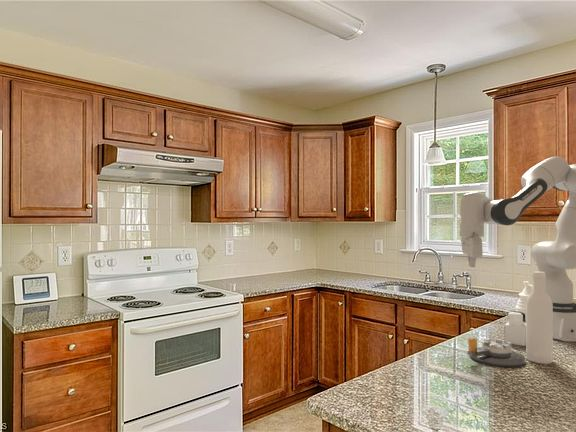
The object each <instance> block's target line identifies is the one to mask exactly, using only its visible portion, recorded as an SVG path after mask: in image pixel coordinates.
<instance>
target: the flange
mask: <svg viewBox="0 0 576 432" xmlns="http://www.w3.org/2000/svg"><path fill="white" fill-rule="evenodd" d="M479 349H482V346H481V347H477V350H479ZM469 358H470V359H471V360H473V361H475V362H477V363H480V364H483V365H487V366H491V367H500V368H518V367H522V366H524V365H525V364H526V358H525V356H524V355H523V354H522V353H519V352H516V351H513V350H511V357H508V358H498V357H491V356H488V355H485V354H481V355H475V356H471V355H469Z"/></svg>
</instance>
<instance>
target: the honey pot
mask: <svg viewBox="0 0 576 432" xmlns="http://www.w3.org/2000/svg"><path fill="white" fill-rule="evenodd" d="M522 284H523V285H524V288H523V289H522V292H520V293H517V294H518V296H519V298H518V299H517V303H516V305H515V311H518V312H522V313H524V314H525V322H526V301H527V298H528V296H529V295H530V294H531V293H533V284H530V282H529V281H527V280H526V281H522Z"/></svg>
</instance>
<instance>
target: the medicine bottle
mask: <svg viewBox="0 0 576 432" xmlns="http://www.w3.org/2000/svg"><path fill="white" fill-rule="evenodd" d="M503 331H504V333H503V334H504V338H503V339H504V342H503V343H506V342H510V343H511V345H514V346H520V347H526V321H525V314H524V313H522V312H518V311H516V310H511V311H508V312H507V323H505V324H504V329H503Z"/></svg>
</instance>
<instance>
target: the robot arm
mask: <svg viewBox="0 0 576 432" xmlns="http://www.w3.org/2000/svg"><path fill="white" fill-rule="evenodd" d="M520 183H521V186H522V189H521V190H520V191H519V192H517V193H516V194H515V195H514V196H512V197H510V198H503V199H495V200H494V199H492V198H490V197H488V196H486V195H485V194H484V193H483V192H481V191H473V192H469V193H468V192H467V193H464V194H463V195H462V196H461V198H460V205H459V216H460V223H459V237H460V238H461V239H460V240H461V241H460V242H461V251H462V254H464V255H465V256H467V260H468V267H470V268H475V267H476V262H477V258H483V253H484V251H483V240H482V238H484V236H485V224H487V225H502V226H512V225H514V224H516V223H517V222H518V221H519V220H520V218H521V217H522V215H523V213H524V212H525V211H526V210H527V208H529V207H530V206H531V205H533V204H534V203H535V202H537V200H538V199H540V198H541V197H542V196H543V195H544V194H545V193H546V192H547V191H549V190H551V189H554V190H556V191H561V192H564V191H566V192H568V199H567V200H566V202H565V203H564V205H563V206H562V207H563V208H561V212H560V213H559V216H558V217H557V220H556V221H555V223H554V226H555V228H556V230H557V231H556V238H555V240H543V241H540V242H536V243H535V244H534V245H533V246H532V247H531V249H530V256H531V258H532V260H533V261H534V262H535V264H536V266H537V270H538V272H545V276H546V278H545V293H546V294H547V295H548V296H549V297H550V298H551V301H552V303H553V340H554V339H555V340H559V341H563V342H576V302H574V283H573V281H572V280H571V278H570V277H569V276H568V272H567V271H568V270H576V163H573V164H569V163H568V161H567V160H566V159H565V158H563V157H561V156H557V155H556V156H550V157H548V158H546V159H544V160H542V161H540V162H538V163H537V164H535V165H534V166H532V167H531V168H529V169H528V170H527V171H526V172H525V173H524V174H522V176H521V178H520ZM566 270H567V271H566Z"/></svg>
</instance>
